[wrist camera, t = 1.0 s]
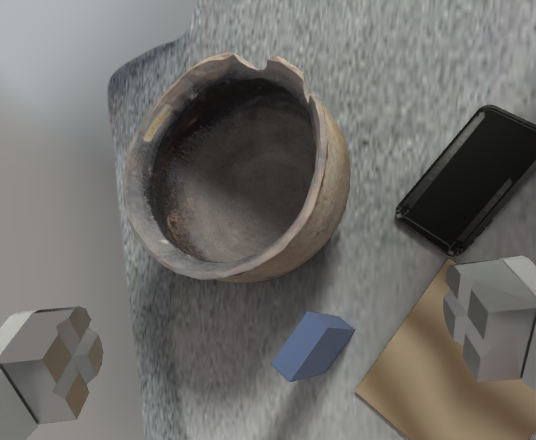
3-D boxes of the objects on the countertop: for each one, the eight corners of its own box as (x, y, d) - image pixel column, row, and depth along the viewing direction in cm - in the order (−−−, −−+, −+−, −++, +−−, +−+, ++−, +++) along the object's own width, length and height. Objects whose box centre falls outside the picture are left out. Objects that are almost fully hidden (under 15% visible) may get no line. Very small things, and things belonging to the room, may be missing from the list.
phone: (390, 213, 42) (485, 101, 41) (392, 216, 43) (484, 106, 42) (456, 260, 38) (563, 137, 37) (456, 262, 39) (560, 142, 38)
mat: (448, 258, 39) (448, 258, 39) (595, 345, 33) (596, 346, 33) (355, 390, 40) (354, 390, 39) (482, 501, 33) (482, 503, 33)
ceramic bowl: (406, 166, 44) (384, 92, 30) (300, 333, 44) (232, 332, 31) (259, 100, 54) (196, 25, 41) (174, 235, 55) (84, 202, 41)
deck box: (338, 316, 42) (307, 311, 34) (355, 329, 41) (327, 327, 33) (308, 358, 43) (270, 363, 34) (324, 372, 41) (289, 382, 33)
